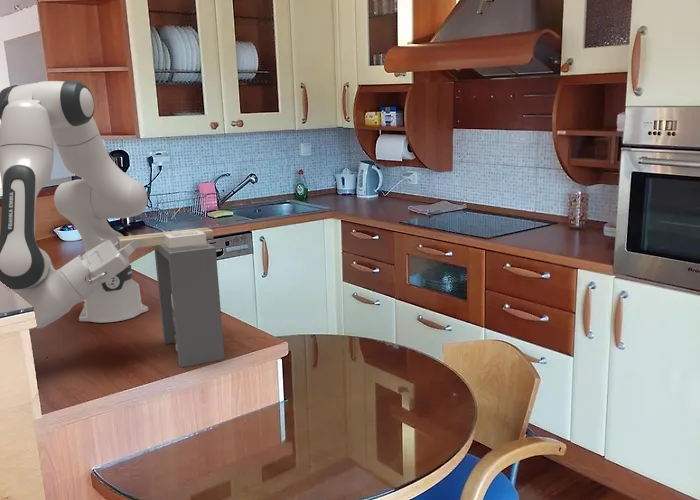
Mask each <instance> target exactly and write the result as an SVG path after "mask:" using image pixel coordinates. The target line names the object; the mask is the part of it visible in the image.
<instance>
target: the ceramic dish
mask: <svg viewBox="0 0 700 500" xmlns="http://www.w3.org/2000/svg"><path fill="white" fill-rule="evenodd" d="M164 241H165V248H167V249H168V250H169V251H170V252H171V251H179V250H188V249H196V248H204V247H207V244H206V242H207V240H206V234H205V233H203V232H201V231H200V230H196V231H187V232H178V233H169V234H164Z"/></svg>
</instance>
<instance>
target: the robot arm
mask: <svg viewBox="0 0 700 500" xmlns="http://www.w3.org/2000/svg"><path fill="white" fill-rule="evenodd" d="M94 114H95V100H94V96H93V94H92V91H91V90H90V88H89V87H87V85H85V84H84V83H83V82H82V81H81V82H80V81H77V80H71V79H67V80H65V81H61V80H43V81H39V82H33V83H26V84H21V85H17V84H15V85H11V86H7V87H5V88H3V89H1V91H0V180H1V181H0V182H1V188H2V191H1V192H2V193H1V194H2V195H1V197H2V198H1V214H0V215H1V218H0V219H1V220H0V221H1V222H0V281H1V282H2V283H3V284H5V285H6V286H7V287H9V288H10V289H12V290H13V291H14V292H16V293H17V294H19V295H20V296H21V297H23V298H24V299H25V300H26V301H27V302H29V303H30V304H31V305H32V306H33V307H34V310H35V318H36V323H37V326H36V328H34V329H35V330H36V329H37V330H38V329H42V328H44V327H47V326H48V325H51V324H52V323H53V322H55V321H57V320H59V319H60V318H62V317H63V316H64V315H65V314H67V313H69V312H70V311H71V309H72V308H73V307H74V306H75V305H77V304H79V303H82V302H84V303H83V308H82V310H81V311H80V314H79V317H78V322H92V323H99V324H101V323H114V322H120V321H125V320H130V319H132V318H135V317H137V316H139V315H141V314H142V313H146V312H148V311H149V307H148V306H147V305H145V304H143V303H142V297H141V291H140V284H139V283H137V281H135V280H134V278H133V269H132V265H131V264H130V258H129V257H130V256H131V255H132V253H134V252H135V250H137V249H138V248H141V247H140V243H139V242H138V240H137V239H134V240H132V241H131V242H129V244H128V245H126V246H125V247H124V248H120V247H119V246H118V237H125V236H124V235H123V234H122V233H121V232H119V231H116V230H115V229H114V228H112V227H111V225H110V224H109V222H108V219H109V220H110V219H111V220H112V219H113V220H114V219H115V220H116V219H127V218H131V217H132V218H133V217H137V216H141V214H143V213H144V212H145V209H146V208H147V205H148V202H149V201H148V200H149V199H148V191H147V190H146V188H145V185H143V183H142V182H140V181H139V180H137V179H134V178H133V177H131V176H129V174H127V173H125V171H123V170H122V168H120V167H119V166H118V165H117V164H116V163H115V162H114V160H113V159H112V158H111V156H110V155H109V153H108V150H107V149H106V146H105V143H104V141H103V138H102V136H101V133H100V131H99V128H98V125H97V123H96V120H95V118H94ZM54 143H55V145H56V148H57V150H58V153H59V155H60V158H61V159H62V163H63V165H64V167H65V169H67V171H68V172H70V173H71V174H73V175H74V176H77V177H78V178H80V179H74V180H69V181H65V182H62V183H60V184H59V185H58V186H57V188H56V189H55V191H54V196H53V203H54V206H55V209H56V211H57V212H58V213H59V215H61V216H62V217H64V218H65V219H67V220H68V221H69V222H70V223H71V224H72V225H73V227H75V229H76V231H78V233H79V236H80V237H81V240H82V243H83V247H84V251H85V253H83V254H82V255H80V254H77V255H76V256H75V257H73V258H71V260H70V261H68V262H67V263H65V264H64V265H63V266H62V267H60V268H58V269H56V268H55V266H54V264H53V263H52V260H51V257H50V256H49V254H48V253H47V252H46V251H45V250H43V249H42V248H41V247H39V246H38V244H37V241H36V234H35V233H36V206H37V205H36V203H37V198H38V195H39V193H40V191H41V190H42V189H43V188H44V187H45V186H47V185H48V184H49V182H50V180H51V178H52V173H53V167H54ZM128 236H134V235H133V234H129V235H128ZM9 288H8V289H9Z"/></svg>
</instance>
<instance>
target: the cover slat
mask: <svg viewBox="0 0 700 500" xmlns="http://www.w3.org/2000/svg"><path fill="white" fill-rule="evenodd" d="M196 230H200V231H201V232H203V233H205V234H206V241H207V240H213V239H214V238H215V237H214V230H213V229H211V228H209V227H201V228H200V227H199V228H192V229H182V230H172V231H165V232H164V231H163V232H154V233H147V234H145V233H144V234H137V235H133V236H129V235H128V236H124V237H118V246H119V247H120V248H124V247H125V246H126V245H128V244H129V242H131V241H132V240H134V239H137V240H138V242H139V243H140V247H139V248H146V247H147V248H148V247H154V246H155V245H164V244H165V241H164V234H169V233H178V232H187V231H196Z"/></svg>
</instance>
